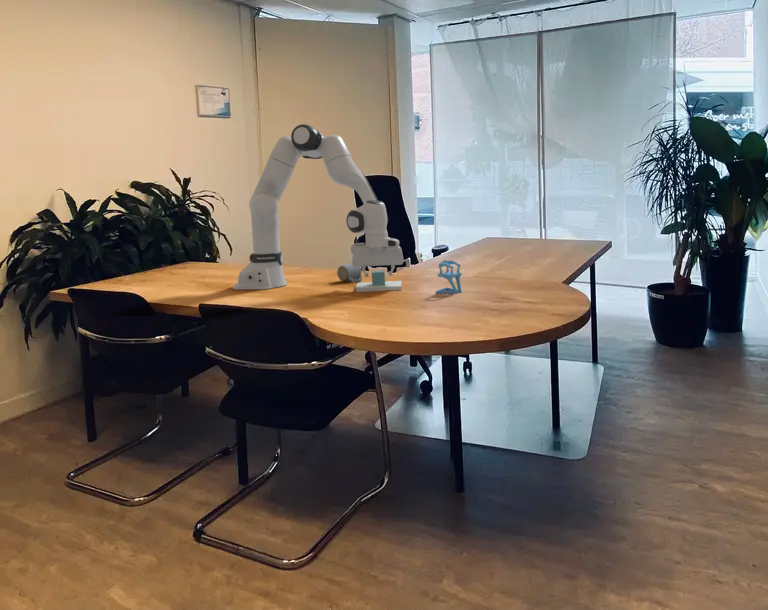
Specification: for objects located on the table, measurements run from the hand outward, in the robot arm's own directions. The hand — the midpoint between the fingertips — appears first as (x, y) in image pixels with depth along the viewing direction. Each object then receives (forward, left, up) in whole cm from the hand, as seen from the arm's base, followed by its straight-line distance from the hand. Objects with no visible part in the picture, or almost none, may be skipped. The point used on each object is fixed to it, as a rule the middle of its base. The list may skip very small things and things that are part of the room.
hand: (378, 276), depth 257 cm
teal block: (0, 0, -3) cm, 3 cm away
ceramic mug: (-12, +20, -5) cm, 24 cm away
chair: (+27, -15, -5) cm, 31 cm away
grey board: (0, 0, -5) cm, 5 cm away
